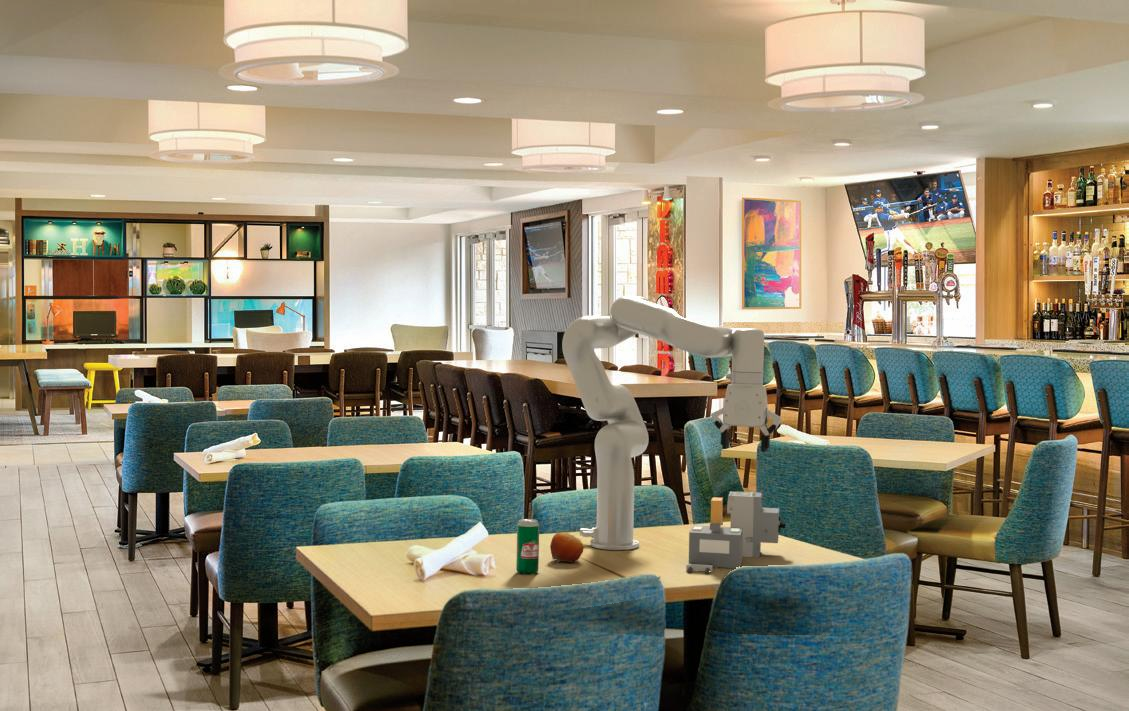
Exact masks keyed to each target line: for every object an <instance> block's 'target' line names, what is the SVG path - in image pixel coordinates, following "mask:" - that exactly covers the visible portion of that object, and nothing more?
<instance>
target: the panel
mask: <svg viewBox="0 0 1129 711" xmlns="http://www.w3.org/2000/svg"><path fill="white" fill-rule="evenodd" d="M723 524H724V518H723V517H722V524H721V526H720V523H711V522H710V523H709V525H697V524H696V525H695V524H693V526H692V527H691V528H690V530H689V533H688V564H691V563H692V562H693V563H695V564H699V565H708V564H709V563H710V564H711V565H713V567H712V568H715V567H728V568H727V569H732V568H736V567H739V566H740V567H741V566H742V561H743V556H742V542H743V528H735V527H731V526H729V527H728V526H723Z"/></svg>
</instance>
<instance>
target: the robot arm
mask: <svg viewBox="0 0 1129 711" xmlns="http://www.w3.org/2000/svg"><path fill="white" fill-rule="evenodd" d="M637 334H639V335H642V336H645V337H647V338H651V339H654V340H656V341H660V342H662V343H663V344H666V345H670V346H672V347H674V348H676V349H679V350H681V351H685V352H686V353H687V352H688V353H690V354H694V355H696V356H700V357H702V358H703V357H704V358H709V359H710V358H711V359H713V358H727V357H731V371H730V373H726V374H725V379H726V380H729V381H730V383H729V384H727V387H726V392H725V397H724V405H723V407H722V408H721V409H718V410H716V411H713V412H711V414H710V416H711V419H712V420H713V422H714V423H713V424H714V426H715V427H716V428H717V429H718V430H719V431H718V432H720V445H721V446H722V447H721V448H722V449H723V450H727V449H728V448H730V431H728V430H729V429H730V428H731V427H744V428H745V427H746V428H759V429H760V431H761V432H762V434H763V435H761V441H760V442H761V443H760V444H761V446H760V451H761V453H766V452H768V450H769V449H770V443H771V442H770V441H771V440H770V439H771V434H772V433H774V431H776V430H777V429H778V427H779V425H780V423H781V422H782V420H783V419H782V417H781V416H780V415H778V414H776V413H775V412H773V411H772V410H770V409H768V408H769V407H768V396H767V395H768V394H767V388H766V385H764V355H765V332H764V331H763V330H762V329H760V328H749V327H747V328H746V327H742V328H741V327H740V328H734V327H729V326H717V325H715V326H712V325H711V326H709V325H706V324H702V323H700V322H697V321H694V320H693V321H692V320H690V319H687V318H684V317H682V316H681V315H679V314H678V312H677V311H676V310H675V309H673V308H671V307H667V306H664V305H660V304H657V303H654V302H652V301H651V300H650V299H648V298H646V297H645V296H636V295H624V296H621V297H618V298H617V299H615V300H614V301H613V303H612V305H611V307H610V312H609V313H607V314H605V315H603V316H601V315H585V316H580V317H577V318H576V319H574V320H573V321H572V322H570V323H569V325H568V326H567V328H566V329H565V331H564V333H563V337H562V343H561V346H562V354H563V357H564V361H565V363H566V365H567V367H568V370H569V372H570V374H571V377H572V379H573V381H574V384H575V387H576V389H577V392H578V395H579V397H580V399H581V402H582V404H583V407H584V409H585V411H586V414H587V416H588V417H589V418H590V419H592V420H593V421H597V422H598V421H600V422H605V421H607V423H608V424H605V426H603V427H602V428H600V429H599V431H598V432H597V434H596V436H595V439H594V453H595V461H596V472H597V473H596V475H597V476H596V477H597V478H596V487H597V488H596V526H595V527H592V528H580V529H579V536H581V537H583V538H585V537H586V538H589V537H590V538H591V540H590V541H589V545H590V546H591V547H593V548H595V549H600V550H609V551H610V550H611V551H626V550H628V551H629V550H635V549H638V548H639V547H640V541H639V540H637V539H634V523H635V522H634V511H635V469H634V466H633V459H632V458H636V457H639V456H640V455H642V454H644V452H646V450H647V447H648V445H649V440H650V439H649V432H648V430H647V425H646V424H645V421H644V420H643V416H642V415H641V412H640V409H639V407H638V404H637V402H636V400H635V397H634V395H633V394H632V393H631V392H632V391H630V390H629V389H628V388H627V387H626V386H625V385H623V384H620V383H613V382H611V381H610V379H609V376H608V375H607V372H606V368H605V366H604V365H603V362H602V361H601V360H600V358H599V356H597V354H596V352H595V349H608V348H612V347H615V346H617V345H619V344H621V343H622V342H625V341H626V340H628V339H630V338H632V337H634V336H636V335H637ZM720 416H722V419H723V420H722V421H723V423H722V421H721V420H720ZM769 418H770V419H771V420H773V422H772V423H771V425H770V426H768V421H769Z"/></svg>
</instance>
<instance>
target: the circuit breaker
mask: <svg viewBox="0 0 1129 711" xmlns="http://www.w3.org/2000/svg"><path fill="white" fill-rule="evenodd" d="M762 497H763V493H762V492H756V491H755V492H752V491H751V492H750V491H729V494H728V497H727V502H726V505H727V506H726V513H727V514H728V515H730V527H735V528H743V542H742V558H743V557H745V558H747V557H748V558H760V555H761V552H762V551H761V550H762V549H761V546H762V543H764V544H778V542H779V534H780V532H781V529H786V524H787V523H786V521H781V516H780V508H777V507H763V506H762V503H763V500H762V499H763V498H762Z"/></svg>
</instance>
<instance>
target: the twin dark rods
mask: <svg viewBox="0 0 1129 711" xmlns="http://www.w3.org/2000/svg"><path fill="white" fill-rule="evenodd" d="M713 568H714V567H713V565H711V564H710V563H709V564H708V565H699V564H695V563H693V562H692V563H691V564H689V563H686V565H685V571H686V570H687V571H686V572H687V573H689V574H691V573H692V572H698V571H705V572H704V573H705V574H706V573H708V574H709V573H713ZM709 571H711V572H709Z"/></svg>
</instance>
